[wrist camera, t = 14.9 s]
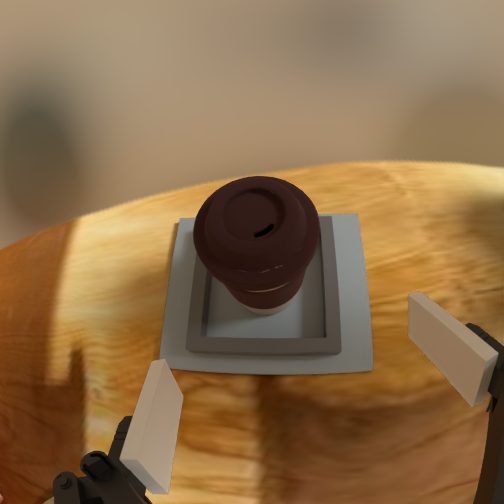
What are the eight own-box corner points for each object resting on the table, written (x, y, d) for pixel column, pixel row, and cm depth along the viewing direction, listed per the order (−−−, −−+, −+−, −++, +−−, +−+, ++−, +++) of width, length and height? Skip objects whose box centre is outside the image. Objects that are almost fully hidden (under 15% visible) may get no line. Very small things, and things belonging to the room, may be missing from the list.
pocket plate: (356, 218, 39) (361, 202, 36) (371, 371, 30) (380, 367, 27) (181, 222, 42) (174, 208, 39) (161, 367, 33) (149, 363, 30)
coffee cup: (228, 248, 38) (196, 166, 25) (308, 247, 37) (316, 161, 24) (221, 326, 34) (177, 275, 20) (310, 327, 32) (326, 275, 19)
